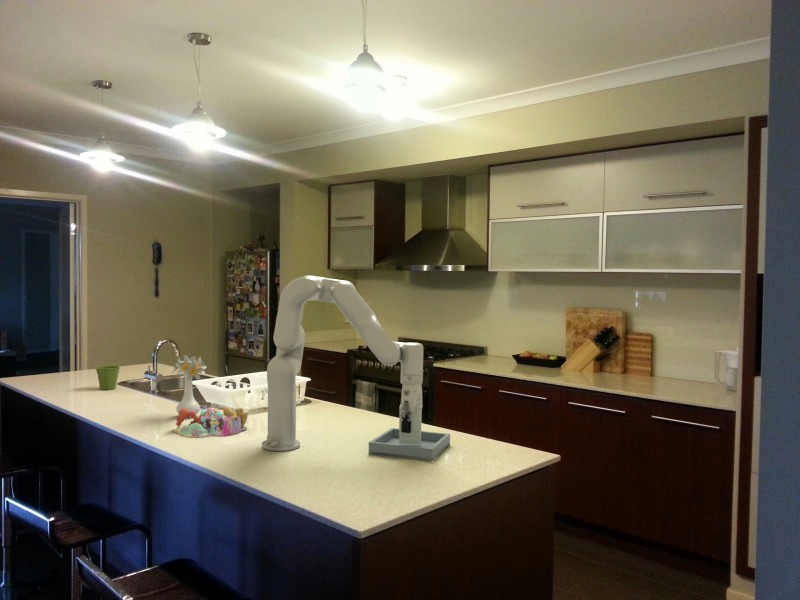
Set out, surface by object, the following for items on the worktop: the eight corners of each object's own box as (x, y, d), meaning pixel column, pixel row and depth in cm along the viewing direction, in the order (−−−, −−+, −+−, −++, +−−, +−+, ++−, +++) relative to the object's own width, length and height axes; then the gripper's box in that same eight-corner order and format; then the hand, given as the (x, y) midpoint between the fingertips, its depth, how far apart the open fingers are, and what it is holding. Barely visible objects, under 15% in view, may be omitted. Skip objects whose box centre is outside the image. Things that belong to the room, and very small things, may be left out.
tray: (432, 461, 200) (432, 449, 200) (368, 454, 208) (368, 442, 208) (449, 445, 221) (450, 433, 221) (391, 438, 228) (391, 427, 228)
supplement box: (421, 439, 218) (422, 403, 217) (420, 444, 210) (421, 407, 210) (400, 438, 218) (401, 402, 218) (398, 443, 211) (399, 406, 211)
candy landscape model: (221, 420, 254) (221, 398, 253) (258, 430, 239) (259, 406, 239) (164, 431, 234) (165, 407, 234) (201, 443, 219) (201, 416, 219)
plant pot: (125, 387, 324) (125, 365, 323) (111, 391, 312) (111, 369, 311) (104, 386, 325) (104, 365, 325) (89, 390, 313) (89, 368, 313)
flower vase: (183, 422, 248) (184, 359, 247) (165, 414, 261) (165, 355, 261) (214, 418, 256) (215, 357, 255) (195, 410, 270) (196, 353, 269)
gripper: (414, 383, 204) (412, 436, 205) (429, 376, 221) (428, 425, 221) (392, 381, 207) (391, 434, 207) (409, 374, 223) (408, 423, 224)
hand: (410, 429), depth 214 cm, fingers closed on supplement box, 8 cm apart
